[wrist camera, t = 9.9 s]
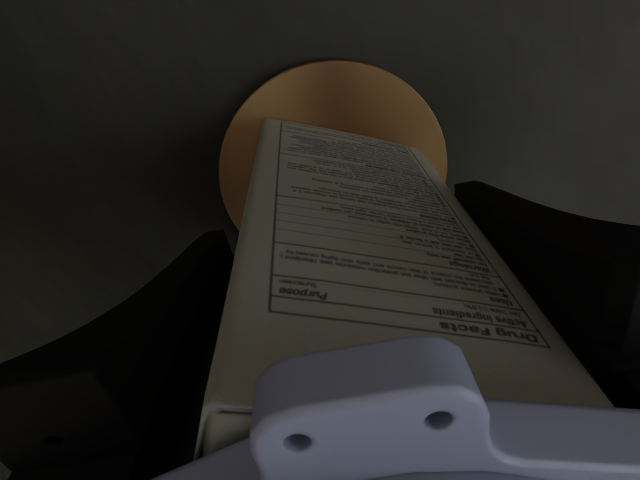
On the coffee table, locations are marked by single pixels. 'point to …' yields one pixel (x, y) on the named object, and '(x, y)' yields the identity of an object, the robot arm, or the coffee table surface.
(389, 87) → the coaster
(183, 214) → the coffee table surface
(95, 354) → the robot arm
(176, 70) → the coffee table surface
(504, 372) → the cosmetic box
